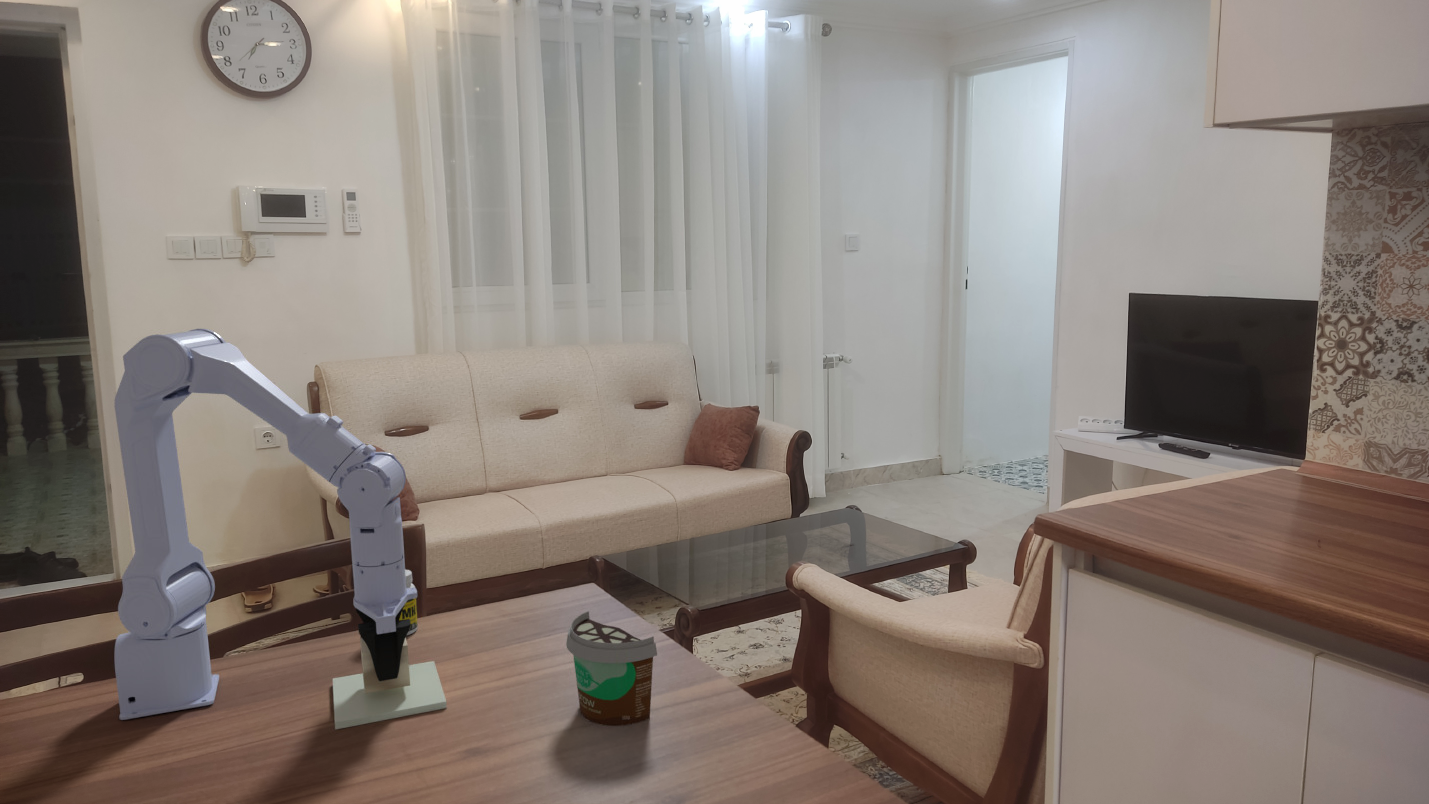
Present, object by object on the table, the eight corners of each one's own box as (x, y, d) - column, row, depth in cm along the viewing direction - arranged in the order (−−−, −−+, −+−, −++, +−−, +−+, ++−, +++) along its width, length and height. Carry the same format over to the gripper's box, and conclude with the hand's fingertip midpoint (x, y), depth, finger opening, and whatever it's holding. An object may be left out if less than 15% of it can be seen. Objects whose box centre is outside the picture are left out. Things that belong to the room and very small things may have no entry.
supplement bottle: (406, 639, 127) (402, 580, 126) (375, 636, 128) (371, 578, 127) (424, 625, 132) (420, 569, 131) (394, 623, 133) (390, 567, 132)
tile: (335, 729, 103) (334, 722, 103) (333, 684, 114) (332, 678, 114) (446, 707, 108) (446, 701, 107) (434, 666, 119) (434, 660, 118)
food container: (546, 707, 108) (543, 625, 106) (588, 688, 112) (585, 609, 110) (617, 743, 99) (614, 655, 98) (659, 722, 104) (657, 637, 102)
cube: (365, 693, 107) (361, 652, 106) (362, 676, 112) (359, 636, 111) (410, 685, 109) (407, 645, 108) (406, 668, 114) (403, 629, 113)
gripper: (420, 573, 103) (428, 688, 105) (408, 537, 116) (415, 640, 118) (352, 582, 100) (361, 700, 102) (348, 545, 114) (356, 650, 116)
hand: (386, 669), depth 110 cm, fingers closed on cube, 5 cm apart
